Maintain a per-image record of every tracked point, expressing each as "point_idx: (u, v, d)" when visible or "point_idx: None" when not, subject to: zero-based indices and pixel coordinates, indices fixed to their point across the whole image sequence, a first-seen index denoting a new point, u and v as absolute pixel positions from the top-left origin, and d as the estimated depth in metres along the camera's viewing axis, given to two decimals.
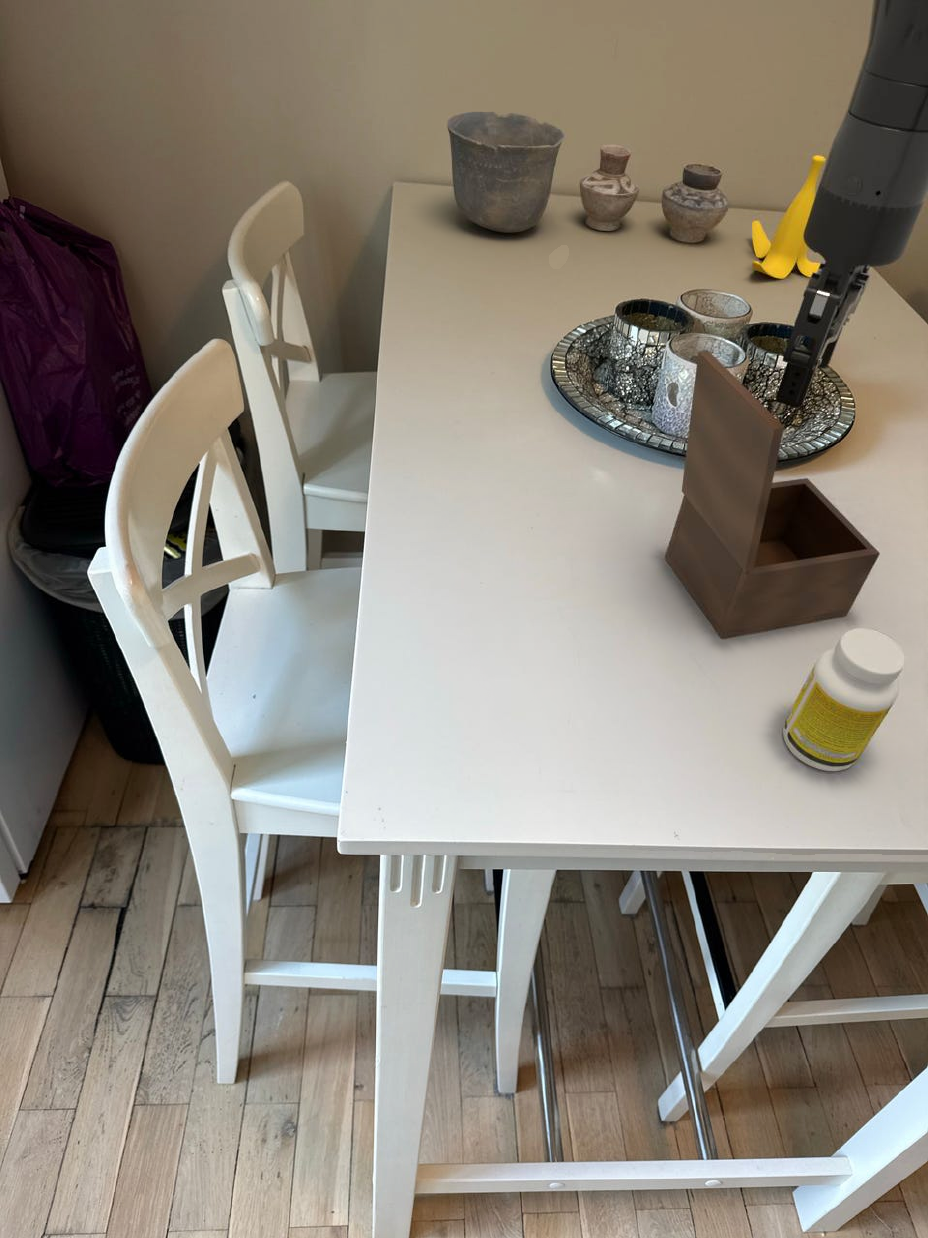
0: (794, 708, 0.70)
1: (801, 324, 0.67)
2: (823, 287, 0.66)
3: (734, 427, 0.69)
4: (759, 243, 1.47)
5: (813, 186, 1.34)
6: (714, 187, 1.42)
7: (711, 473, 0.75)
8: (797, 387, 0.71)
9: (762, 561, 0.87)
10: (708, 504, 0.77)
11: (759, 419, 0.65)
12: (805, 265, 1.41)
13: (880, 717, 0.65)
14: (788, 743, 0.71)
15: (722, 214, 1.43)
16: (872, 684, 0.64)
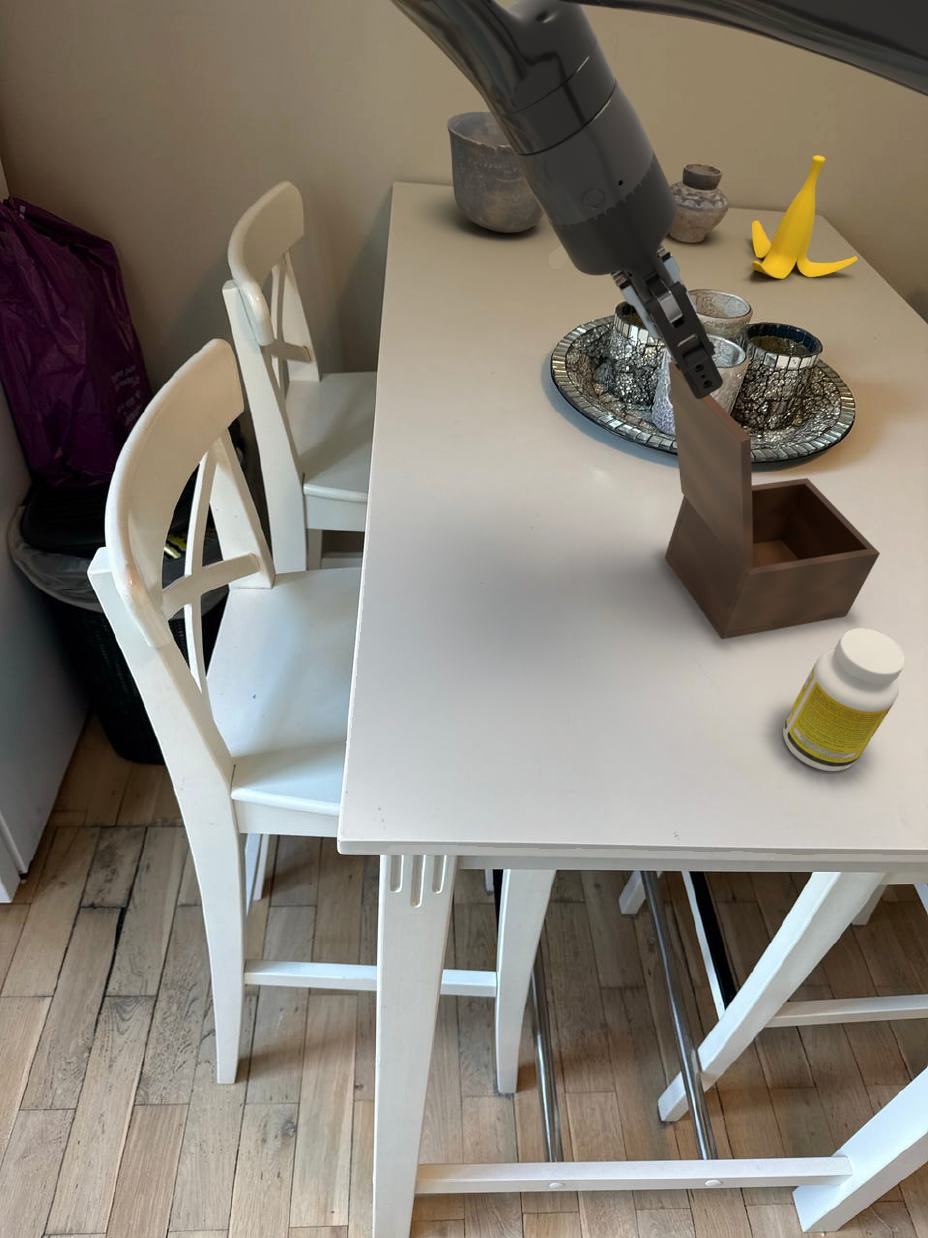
0: (794, 708, 0.70)
1: (672, 335, 0.57)
2: (655, 291, 0.56)
3: (709, 436, 0.69)
4: (759, 243, 1.47)
5: (813, 186, 1.34)
6: (714, 187, 1.42)
7: (700, 477, 0.75)
8: (709, 374, 0.61)
9: (762, 561, 0.87)
10: (704, 506, 0.77)
11: (727, 431, 0.65)
12: (805, 265, 1.41)
13: (880, 717, 0.65)
14: (788, 742, 0.71)
15: (722, 214, 1.43)
16: (872, 684, 0.64)
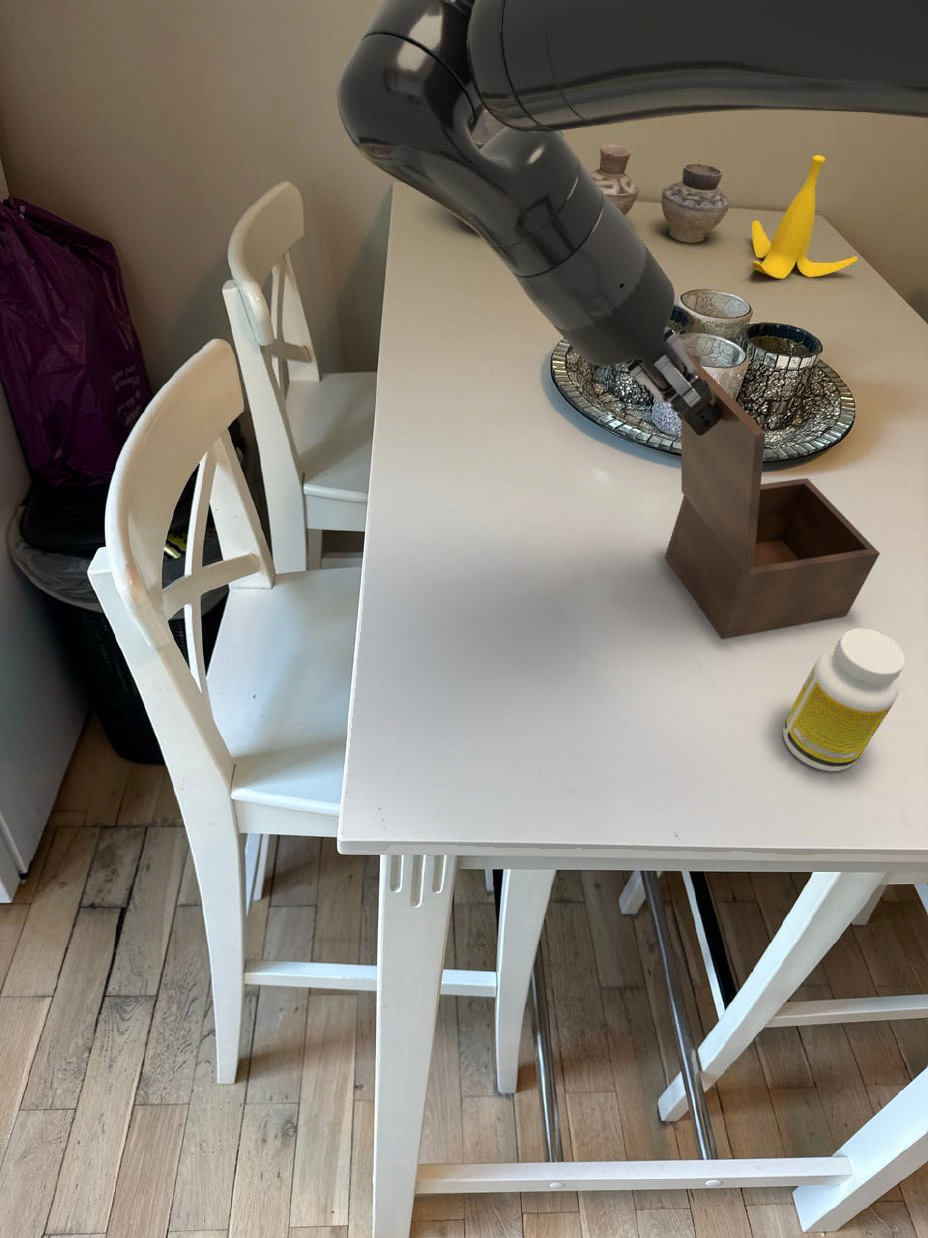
0: (794, 708, 0.70)
1: (689, 413, 0.61)
2: (678, 388, 0.59)
3: (720, 432, 0.69)
4: (759, 243, 1.47)
5: (813, 186, 1.34)
6: (714, 187, 1.42)
7: (705, 475, 0.75)
8: (708, 414, 0.66)
9: (762, 561, 0.87)
10: (706, 505, 0.77)
11: (741, 425, 0.65)
12: (805, 265, 1.41)
13: (880, 717, 0.65)
14: (788, 742, 0.71)
15: (722, 214, 1.43)
16: (872, 684, 0.64)
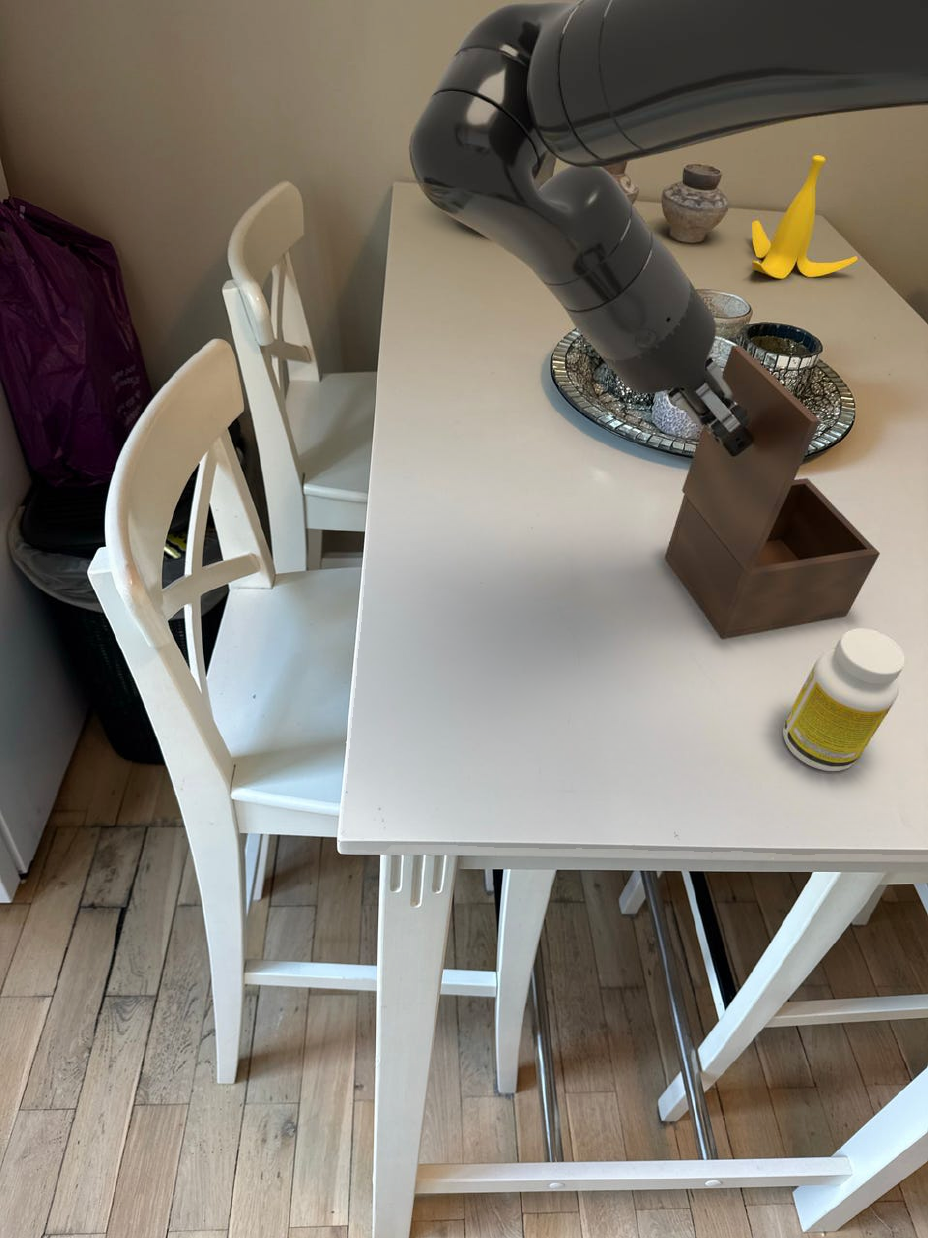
0: (794, 708, 0.70)
1: (727, 438, 0.64)
2: (718, 414, 0.62)
3: (761, 421, 0.69)
4: (759, 243, 1.47)
5: (813, 186, 1.34)
6: (714, 187, 1.42)
7: (723, 470, 0.75)
8: (742, 437, 0.69)
9: (762, 561, 0.87)
10: (712, 502, 0.77)
11: (794, 411, 0.66)
12: (805, 265, 1.41)
13: (880, 717, 0.65)
14: (788, 742, 0.71)
15: (722, 214, 1.43)
16: (872, 684, 0.64)
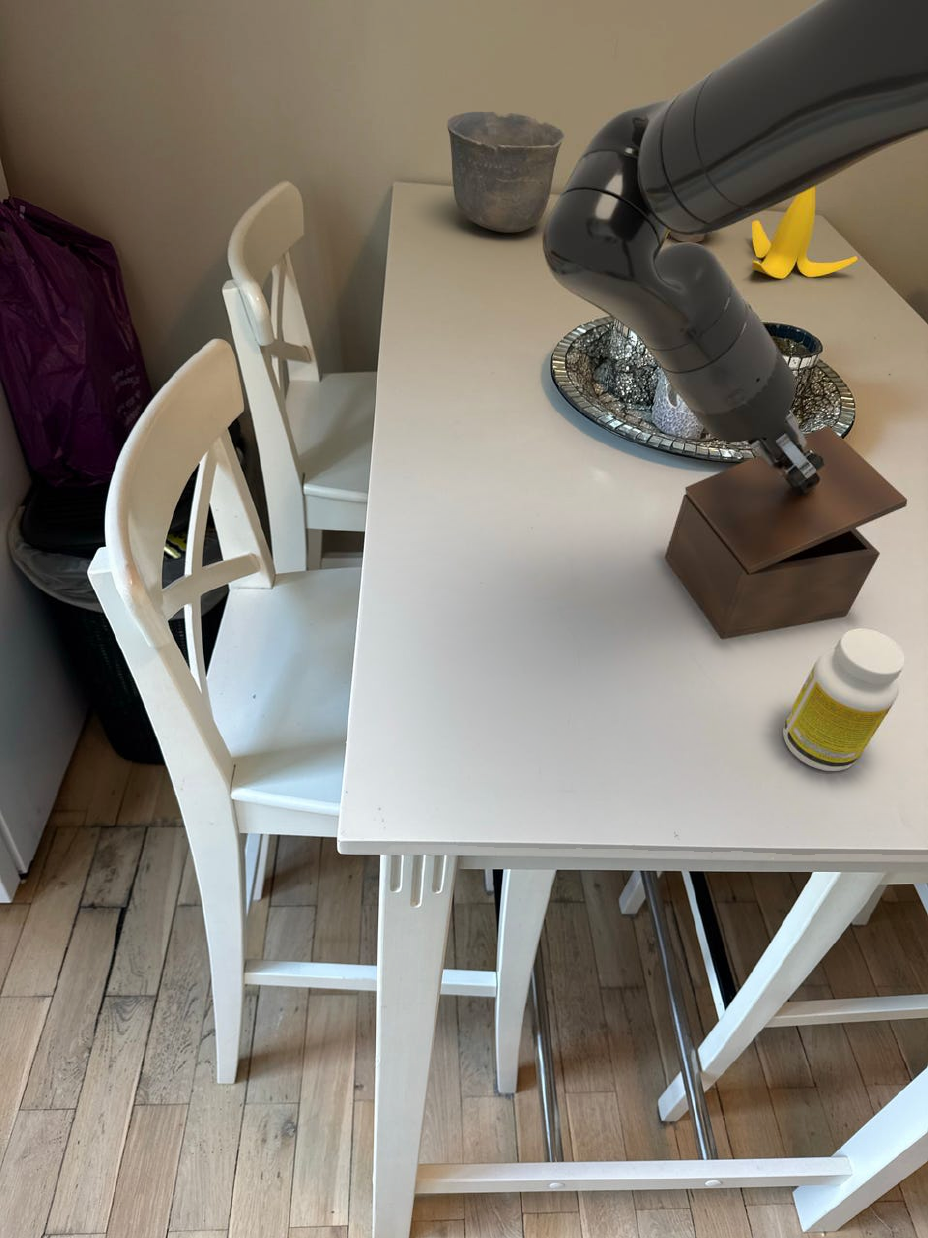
0: (794, 708, 0.70)
1: None
2: (796, 462, 0.68)
3: (840, 479, 0.77)
4: (759, 243, 1.47)
5: None
6: None
7: (762, 492, 0.79)
8: (811, 478, 0.75)
9: None
10: (730, 508, 0.78)
11: (888, 487, 0.75)
12: (805, 265, 1.41)
13: (880, 717, 0.65)
14: (788, 742, 0.71)
15: None
16: (872, 684, 0.64)
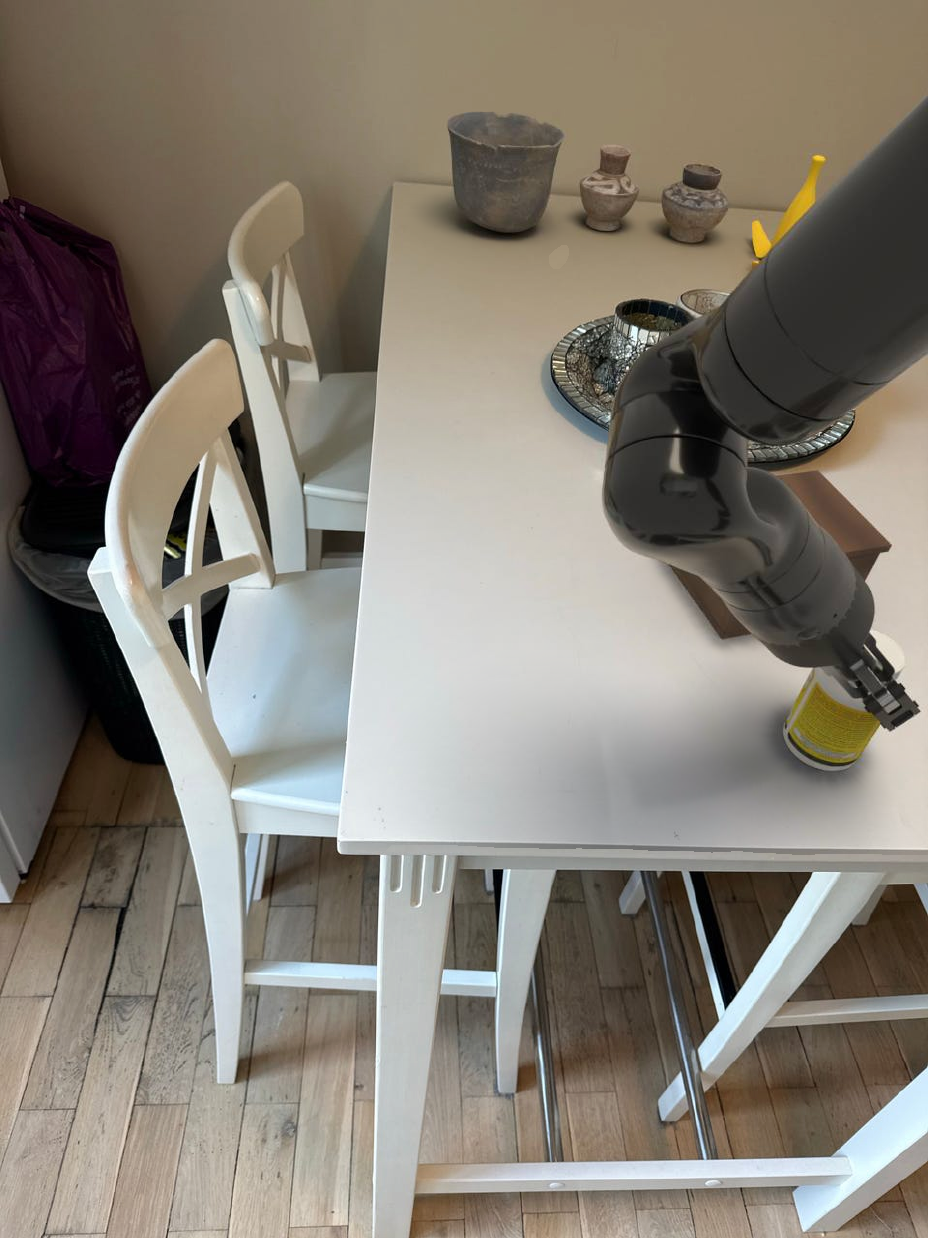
0: (794, 708, 0.70)
1: (887, 719, 0.58)
2: (870, 688, 0.57)
3: (831, 515, 0.80)
4: (759, 243, 1.47)
5: (813, 186, 1.34)
6: (714, 187, 1.42)
7: None
8: None
9: None
10: None
11: (875, 531, 0.79)
12: None
13: None
14: (788, 742, 0.71)
15: (722, 214, 1.43)
16: None
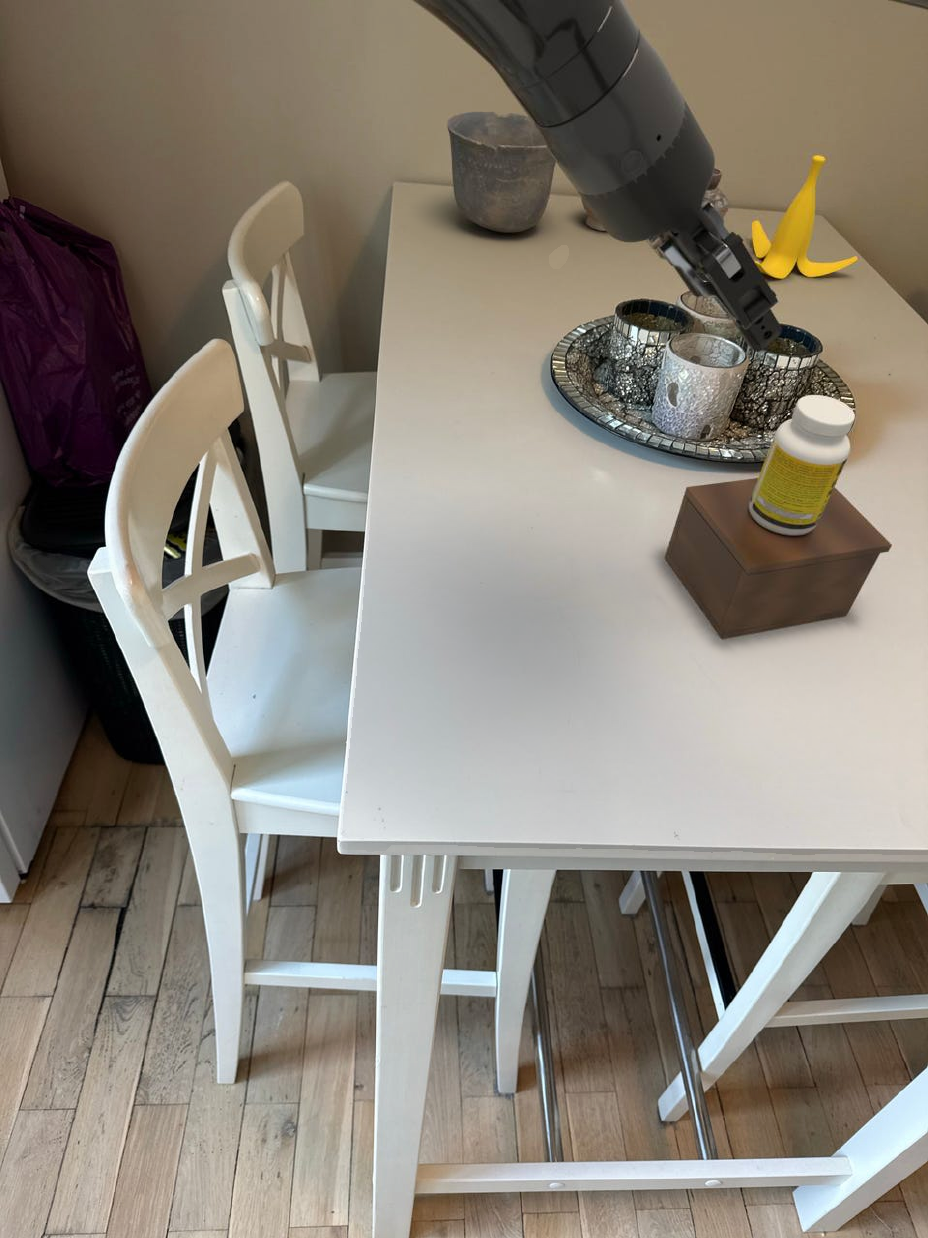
0: (758, 479, 0.77)
1: (732, 291, 0.53)
2: (707, 247, 0.52)
3: (831, 515, 0.80)
4: (759, 243, 1.47)
5: (813, 186, 1.34)
6: (714, 187, 1.42)
7: None
8: (769, 324, 0.57)
9: None
10: (730, 514, 0.79)
11: (875, 531, 0.79)
12: (805, 265, 1.41)
13: (833, 473, 0.73)
14: (753, 513, 0.78)
15: (722, 214, 1.43)
16: (825, 437, 0.71)
